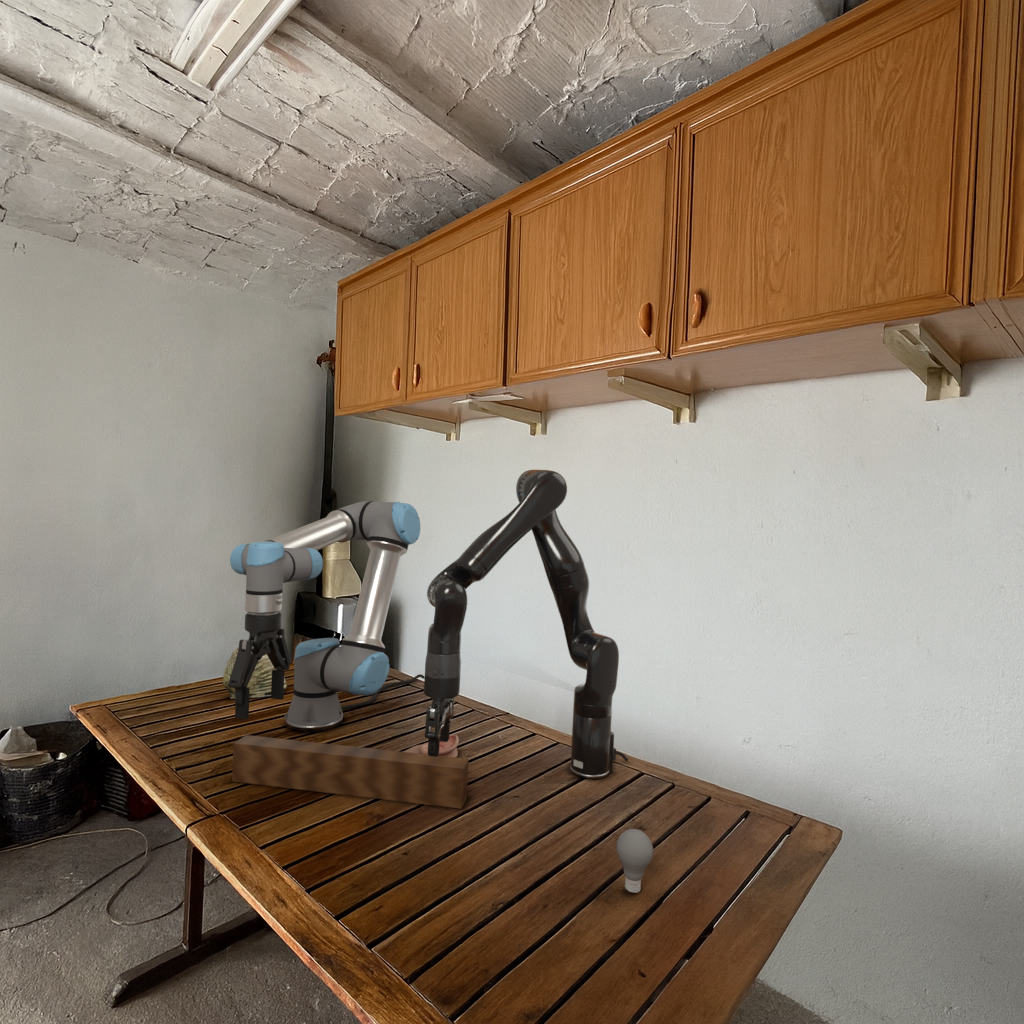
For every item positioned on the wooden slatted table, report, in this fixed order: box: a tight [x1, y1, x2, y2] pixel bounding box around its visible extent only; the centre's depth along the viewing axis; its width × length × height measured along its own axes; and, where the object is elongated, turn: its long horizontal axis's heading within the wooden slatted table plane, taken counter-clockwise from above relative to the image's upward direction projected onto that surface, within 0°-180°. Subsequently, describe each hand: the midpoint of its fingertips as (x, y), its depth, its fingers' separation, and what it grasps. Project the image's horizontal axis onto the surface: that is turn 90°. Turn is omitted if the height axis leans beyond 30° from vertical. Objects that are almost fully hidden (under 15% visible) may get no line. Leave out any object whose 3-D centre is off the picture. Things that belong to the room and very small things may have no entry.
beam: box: [231, 734, 469, 810], centre depth 137 cm, size 52×5×8 cm, turn 81°
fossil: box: [222, 646, 288, 699], centre depth 198 cm, size 9×18×15 cm, turn 132°
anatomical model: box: [404, 734, 460, 758], centre depth 158 cm, size 13×4×12 cm
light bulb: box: [615, 828, 654, 894], centre depth 106 cm, size 6×6×10 cm
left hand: (260, 708), depth 140 cm, fingers open, 13 cm apart
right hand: (438, 748), depth 134 cm, fingers open, 8 cm apart
